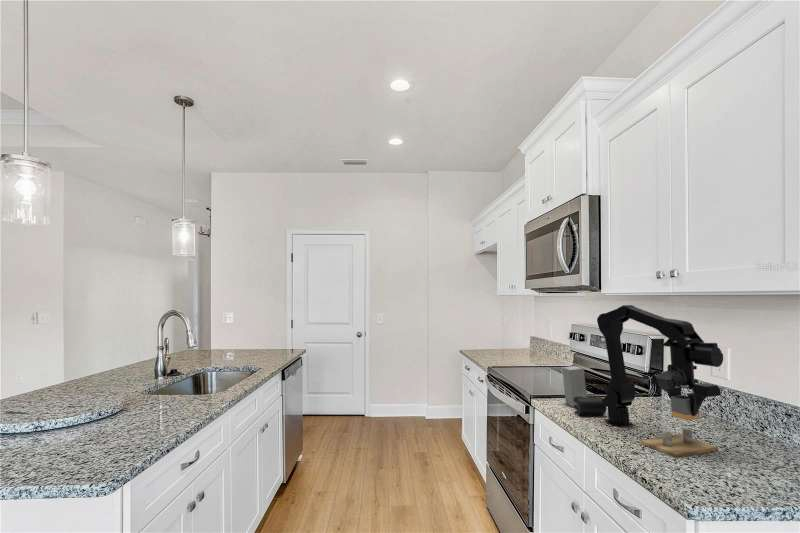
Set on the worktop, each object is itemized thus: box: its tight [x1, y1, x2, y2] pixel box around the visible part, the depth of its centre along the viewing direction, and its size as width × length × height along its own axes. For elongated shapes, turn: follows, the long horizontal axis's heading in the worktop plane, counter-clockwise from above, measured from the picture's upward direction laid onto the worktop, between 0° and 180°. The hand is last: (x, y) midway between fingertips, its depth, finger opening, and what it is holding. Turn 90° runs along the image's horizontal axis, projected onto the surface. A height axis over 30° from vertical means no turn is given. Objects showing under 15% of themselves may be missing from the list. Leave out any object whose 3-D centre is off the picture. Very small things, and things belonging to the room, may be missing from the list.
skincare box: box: [561, 365, 588, 408], centre depth 172 cm, size 8×7×16 cm
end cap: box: [573, 395, 608, 416], centre depth 158 cm, size 10×7×7 cm
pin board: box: [639, 428, 719, 459], centre depth 123 cm, size 12×16×4 cm
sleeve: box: [670, 394, 701, 421], centre depth 125 cm, size 5×5×6 cm
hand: (685, 413), depth 125 cm, fingers closed on sleeve, 5 cm apart
